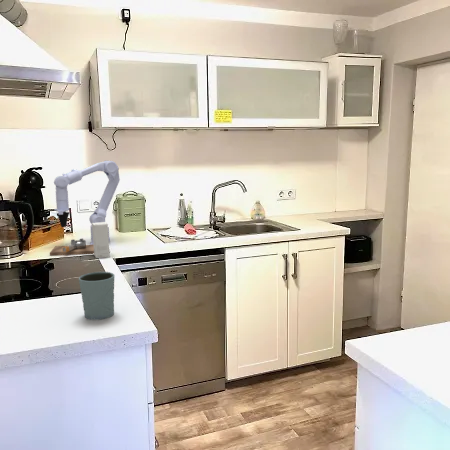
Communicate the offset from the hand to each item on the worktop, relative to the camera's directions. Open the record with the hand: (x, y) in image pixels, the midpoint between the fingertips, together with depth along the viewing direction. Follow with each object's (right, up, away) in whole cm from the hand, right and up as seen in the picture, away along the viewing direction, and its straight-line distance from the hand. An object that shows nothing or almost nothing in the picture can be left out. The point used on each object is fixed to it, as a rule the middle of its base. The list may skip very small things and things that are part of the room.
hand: (63, 226), depth 230 cm
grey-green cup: (+44, -26, -94) cm, 107 cm away
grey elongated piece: (+9, -11, -12) cm, 18 cm away
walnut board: (+8, -12, -8) cm, 17 cm away
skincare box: (+24, -14, -18) cm, 33 cm away
